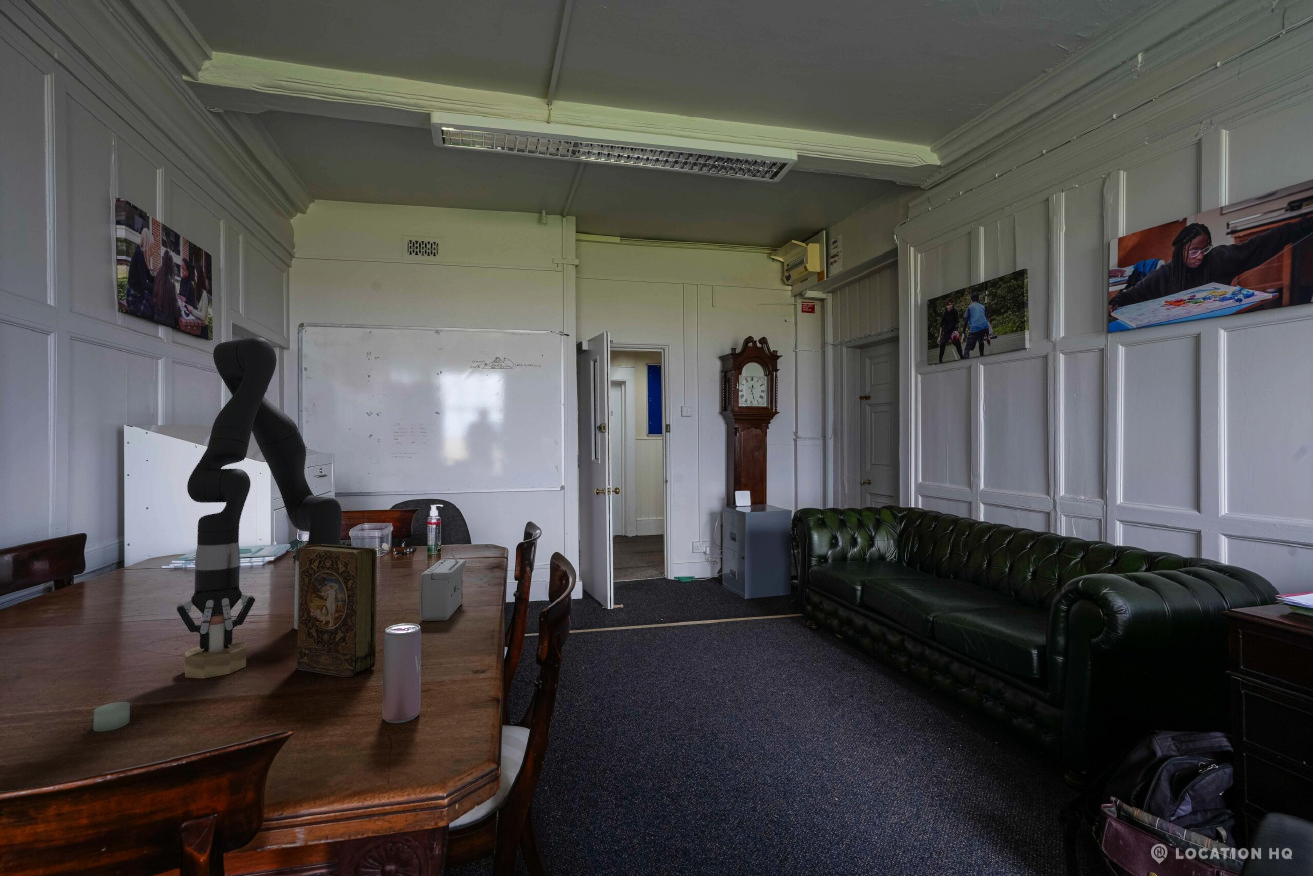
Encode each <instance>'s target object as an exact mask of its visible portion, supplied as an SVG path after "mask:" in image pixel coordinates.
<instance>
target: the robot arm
mask: <svg viewBox="0 0 1313 876" xmlns="http://www.w3.org/2000/svg"><path fill="white" fill-rule="evenodd" d="M212 357H213V363H214V365H215V368H216V370H217V372H218V374H219V376H220V378H221V379H222V382H224V385H225V386H226V388H227V389H228V391H229V392H230V394H231V396H232V397H230V399H229V400H228V402H226V404H225V405H224V406H223V408H221V410H220V411H219V413H218V415H216V418H215V420H214V422H213V424H212V428H211V431H210V436H209V440H208V444H207V447H206V450H205V451H204V453H203V455H202V456H201V458H200V460H199V461H198V463H197V464H196V466H195V467H194V468H193V471H192V472H191V474H190V475H189V478H188V481H187V484H186V489H187V491H186V492H187V493H188V496H189V497H190V499H191V500H193V501H194V502H195V503H196V502H197V503H202V504H204V503H205V504H209V503H211V504H212V503H214V504H215V503H217V504H218V503H225V506H224V507H223V509H222V510H221V511H220V512H216V513H210V514H205V515H203V516H201V517H200V518H199V520H198V522H197V537H196V538H197V540H196V542H197V545H196V551H195V558H194V560H195V562H194V593H193V595H192V596H191V599H190V600H188V601H185V602H184V603H179V604H177V605H176V612H177V614H178V615H179V617H180V619H182V621H183V623H184V624H185V627H186V628H187V629H188V631H189V632H190V633H198V634H199V646H200V648H201V649H204V652H206V651H208V646H209V633H208V626H209V622H210V617H211V616H213V615H216V614H224V621H225V631H224V649H225V648H228V645H231V644H232V642H233V630H234V629H235V628H237V627H238V626H242V625H243V624H244V622H245V620H246V619H247V617H248V615H249V613H250V611H251V609H252V608H253V605H254V604H255V602H256V598H255V596H254V595H247V594H243V593H242V591H241V589H240V575H241V574H240V571H241V570H240V569H241V568H240V567H241V550H240V542H239V541H240V522H241V517H242V513H243V510H244V507H245V505H246V504H245V503H246V502H247V499H248V495H249V493H250V489H251V478H250V476H249V474H248V473H247V472H246V471H245V470H244V469H241V468H223V467H225V466H228V465H231V464H237V463H240V462H242V461H244V459H246V457H247V453H248V449H249V445H250V440H251V434H253V438H254V439H255V442H256V445H258V447H259V450H260V452H261V454H262V457H263V458H264V460H265V463H266V464H267V466H268V468H269V470H270V472H271V475H272V478H273V479H274V481H275V483H276V484H275V485H276V487H278V490H279V493H280V496H281V499H282V501H283V504H284V508H285V511H286V514H287V516H288V519H289V521H290V524H291V525H292V526H293V527H294V528H295V529H296V530H298V531H300V532H301V531H302V532H306V533H308V538H307V543H306V544H305V545H303V546H308V545H317V544H326V545H339V546H341V539H342V536H341V534H342V524H343V523H342V522H343V511H342V507H341V504H340V501H338V500H337V499H336V498H334V497H330V496H315V495H314V493H313V492H312V490H311V488H310V486H309V483H308V481H307V479H306V475H305V474H306V473H305V468H306V460H307V449H306V445H305V442H304V440H303V436H302V434H301V432H300V430H299V428H298V426H297V424H296V422H295V421H294V420H293V419H292V418H291V417H290V416H289V415H288V414H287V413H285V412H284V411H283V410H281V409H280V408H278V407H277V406H276V405H274V404H273V403H272V401H270V400H269V399H267V398H266V397H265V395H266V392H267V389H268V388H269V385H270V383H271V381H272V378H273V376H274V374H275V370H276V367H277V362H278V361H277V359H278V358H277V354H276V350H275V348H274V347H273V344H272V343H270V341H268V340H267V339H266V338H263V337H258V336H257V337H247V338H242V339H241V338H240V339H235V340H227V341H224V342H220V343H218V344H217V345H215V347H214V349H213V353H212ZM299 548H300V547H298V548H297V549H296V551H295V573H294V574H295V576H294V577H295V578H294V582H295V583H294V621H293V623H294V629H295V630H297V631H298V591H299ZM240 600H241V601H240ZM239 601H240V603H241V606H242V607H241V608H240V610H239V613H238V614H237V616H236V618H235V619H232V612H231V610H233V609H234V607H235V605H237V603H238V602H239ZM193 606H194V607H195V608H196V609H197V610H198V611H199V612H200V613H201V618H200V624H196V623H195V621H194V619H193V617H191V612H192V607H193Z"/></svg>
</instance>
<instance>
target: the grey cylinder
mask: <svg viewBox="0 0 1313 876" xmlns="http://www.w3.org/2000/svg"><path fill="white" fill-rule="evenodd" d="M224 631H225V621H224V614H216V615H213V616H211V617H210V622H209V626H208V633H209V646H208V651H207V653H215V652H221V651H225V649H224Z"/></svg>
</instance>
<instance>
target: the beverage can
mask: <svg viewBox="0 0 1313 876" xmlns="http://www.w3.org/2000/svg"><path fill="white" fill-rule="evenodd" d="M382 650H383V651H382V652H383V653H382V654H383V655H382V705H381V707H382V708H381V709H382V711H381V716H382V719H383V720H384V721H385V722H386V723H389V724H402V723H408V722H410V721H412V720H414V719H416V718H417V717H418V715H419V714H420V712H421V692H422V691H421V682H422V679H421V677H422V675H421V673H422V631H421V626H420V625H419V624H416V623H399V624H394V625H390V626H387V627H386V628H385V629H384V635H383V649H382Z"/></svg>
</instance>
